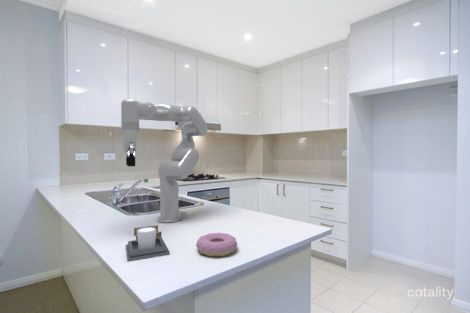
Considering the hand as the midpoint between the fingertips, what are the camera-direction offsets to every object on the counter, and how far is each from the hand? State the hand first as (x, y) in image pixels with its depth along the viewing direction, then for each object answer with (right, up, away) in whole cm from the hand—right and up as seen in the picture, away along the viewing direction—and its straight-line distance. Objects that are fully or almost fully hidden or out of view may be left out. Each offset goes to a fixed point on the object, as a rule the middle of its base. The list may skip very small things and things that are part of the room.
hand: (130, 165), depth 118 cm
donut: (+40, -32, -20) cm, 55 cm away
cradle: (+14, -31, -21) cm, 40 cm away
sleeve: (+10, -31, -6) cm, 32 cm away
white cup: (+15, -30, -21) cm, 40 cm away
